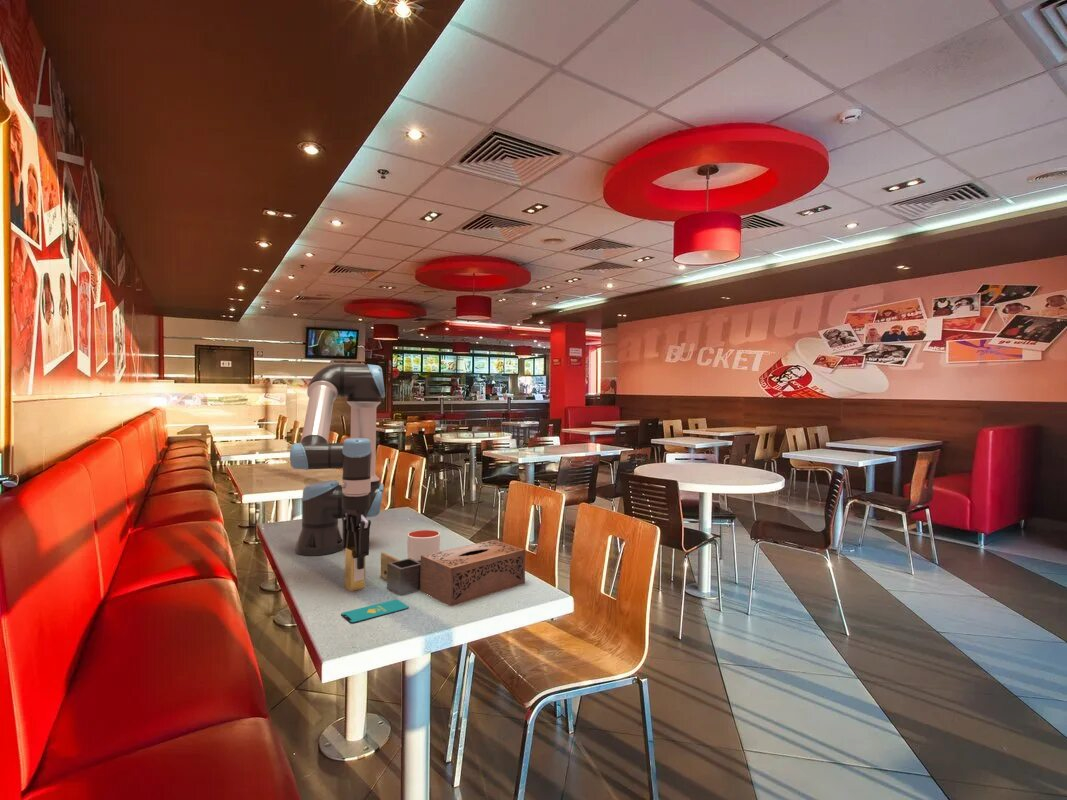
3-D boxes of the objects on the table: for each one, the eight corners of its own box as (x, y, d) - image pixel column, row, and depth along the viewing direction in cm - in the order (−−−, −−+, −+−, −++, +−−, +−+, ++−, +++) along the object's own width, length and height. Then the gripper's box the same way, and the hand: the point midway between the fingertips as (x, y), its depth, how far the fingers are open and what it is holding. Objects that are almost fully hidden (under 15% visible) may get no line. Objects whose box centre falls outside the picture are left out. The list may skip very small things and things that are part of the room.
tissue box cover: (493, 572, 163) (493, 539, 163) (524, 584, 152) (525, 549, 152) (420, 591, 145) (420, 555, 145) (450, 607, 134) (450, 568, 134)
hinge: (370, 579, 154) (370, 555, 154) (421, 567, 166) (422, 544, 166) (399, 595, 141) (400, 569, 141) (453, 581, 153) (453, 557, 153)
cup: (432, 571, 162) (432, 538, 162) (401, 568, 164) (402, 536, 164) (444, 561, 171) (444, 531, 171) (415, 559, 173) (415, 529, 173)
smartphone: (410, 606, 133) (351, 622, 123) (409, 609, 133) (351, 625, 123) (396, 598, 138) (339, 613, 128) (396, 602, 138) (339, 616, 128)
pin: (344, 587, 147) (345, 547, 147) (358, 583, 150) (359, 545, 150) (350, 591, 144) (351, 550, 144) (364, 587, 147) (365, 548, 147)
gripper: (330, 491, 150) (329, 573, 150) (356, 500, 138) (355, 589, 138) (355, 488, 156) (354, 567, 156) (383, 496, 143) (381, 583, 143)
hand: (354, 577), depth 147 cm, fingers closed on pin, 4 cm apart
